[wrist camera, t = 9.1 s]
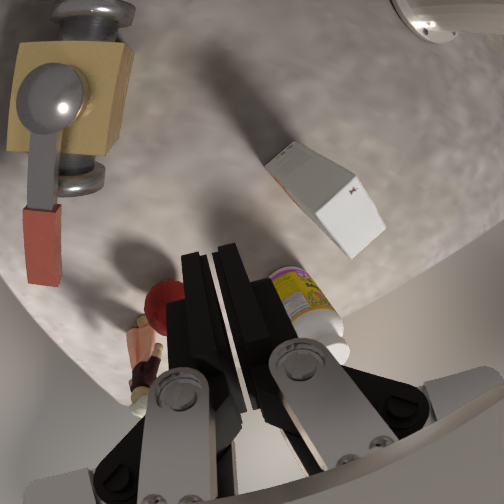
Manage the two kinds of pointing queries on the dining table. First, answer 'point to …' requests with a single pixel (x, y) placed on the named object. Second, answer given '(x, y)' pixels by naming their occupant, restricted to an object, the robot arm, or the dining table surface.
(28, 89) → the lever
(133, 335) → the grandmother figurine
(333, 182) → the skincare box
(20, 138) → the valve
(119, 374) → the dining table surface
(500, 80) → the dining table surface
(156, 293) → the onion
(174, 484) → the robot arm
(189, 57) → the dining table surface
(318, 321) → the supplement bottle
